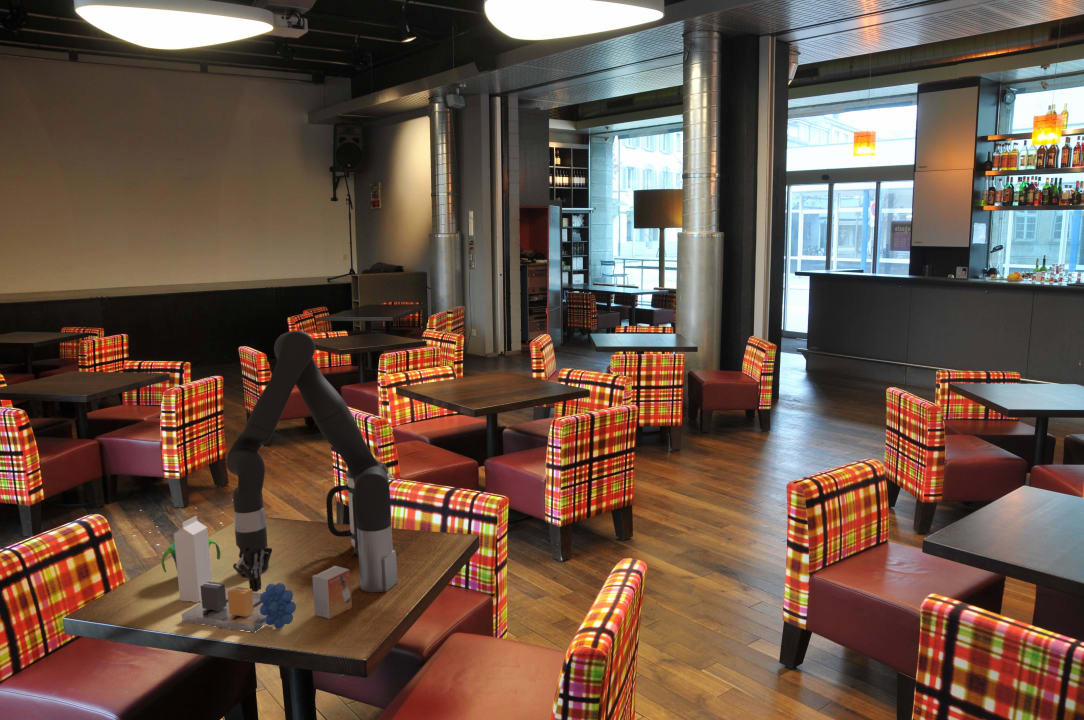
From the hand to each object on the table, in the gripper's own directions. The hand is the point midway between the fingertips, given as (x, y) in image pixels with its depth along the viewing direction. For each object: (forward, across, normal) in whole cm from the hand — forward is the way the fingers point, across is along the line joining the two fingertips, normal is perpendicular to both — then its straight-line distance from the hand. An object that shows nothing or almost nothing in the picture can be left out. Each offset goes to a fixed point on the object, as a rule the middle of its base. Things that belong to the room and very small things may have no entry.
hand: (255, 590), depth 212 cm
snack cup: (+6, +14, +33) cm, 37 cm away
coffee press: (+6, +46, -5) cm, 47 cm away
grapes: (+6, -5, -11) cm, 14 cm away
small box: (+6, +6, -19) cm, 21 cm away
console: (+6, -2, +4) cm, 8 cm away
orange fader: (+4, -6, 0) cm, 7 cm away
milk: (+6, +3, +22) cm, 23 cm away
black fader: (+3, -5, +9) cm, 11 cm away
